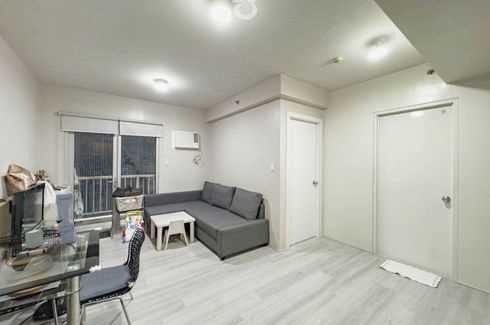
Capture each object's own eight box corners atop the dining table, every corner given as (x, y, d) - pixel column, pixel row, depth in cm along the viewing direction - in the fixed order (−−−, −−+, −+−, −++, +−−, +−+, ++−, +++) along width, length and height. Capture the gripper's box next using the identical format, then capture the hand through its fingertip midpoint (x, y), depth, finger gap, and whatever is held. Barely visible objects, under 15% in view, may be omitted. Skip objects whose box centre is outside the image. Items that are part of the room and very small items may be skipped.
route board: (58, 248, 158) (58, 244, 158) (53, 253, 150) (52, 248, 150) (22, 255, 149) (21, 250, 149) (14, 261, 141) (13, 256, 141)
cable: (54, 249, 155) (54, 246, 154) (52, 251, 152) (52, 247, 152) (22, 255, 147) (22, 252, 147) (19, 257, 144) (19, 253, 144)
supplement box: (44, 244, 168) (42, 229, 167) (34, 248, 160) (32, 232, 160) (36, 244, 169) (35, 229, 168) (26, 248, 161) (24, 232, 161)
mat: (63, 244, 165) (62, 244, 164) (59, 247, 159) (59, 247, 159) (26, 251, 155) (26, 251, 155) (21, 255, 150) (21, 254, 150)
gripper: (59, 210, 183) (61, 224, 184) (52, 214, 170) (54, 230, 170) (69, 208, 186) (70, 223, 187) (63, 212, 173) (64, 228, 173)
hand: (63, 226), depth 179 cm, fingers open, 7 cm apart
